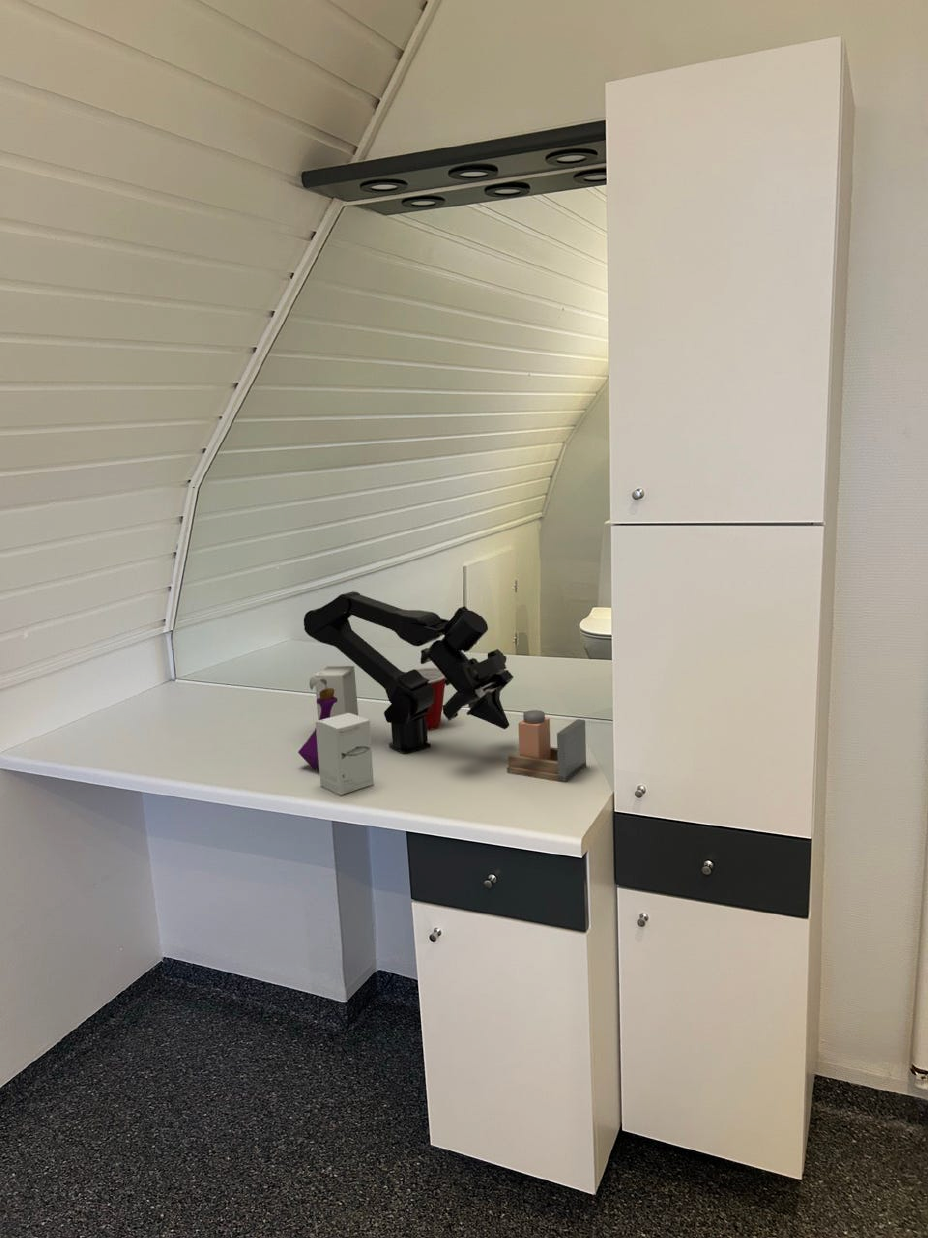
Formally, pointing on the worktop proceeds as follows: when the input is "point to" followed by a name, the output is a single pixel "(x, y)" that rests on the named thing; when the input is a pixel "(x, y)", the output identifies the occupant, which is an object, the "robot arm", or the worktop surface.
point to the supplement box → (344, 753)
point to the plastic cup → (438, 685)
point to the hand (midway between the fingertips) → (507, 727)
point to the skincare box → (339, 689)
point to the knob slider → (535, 735)
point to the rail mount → (556, 756)
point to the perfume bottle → (326, 703)
